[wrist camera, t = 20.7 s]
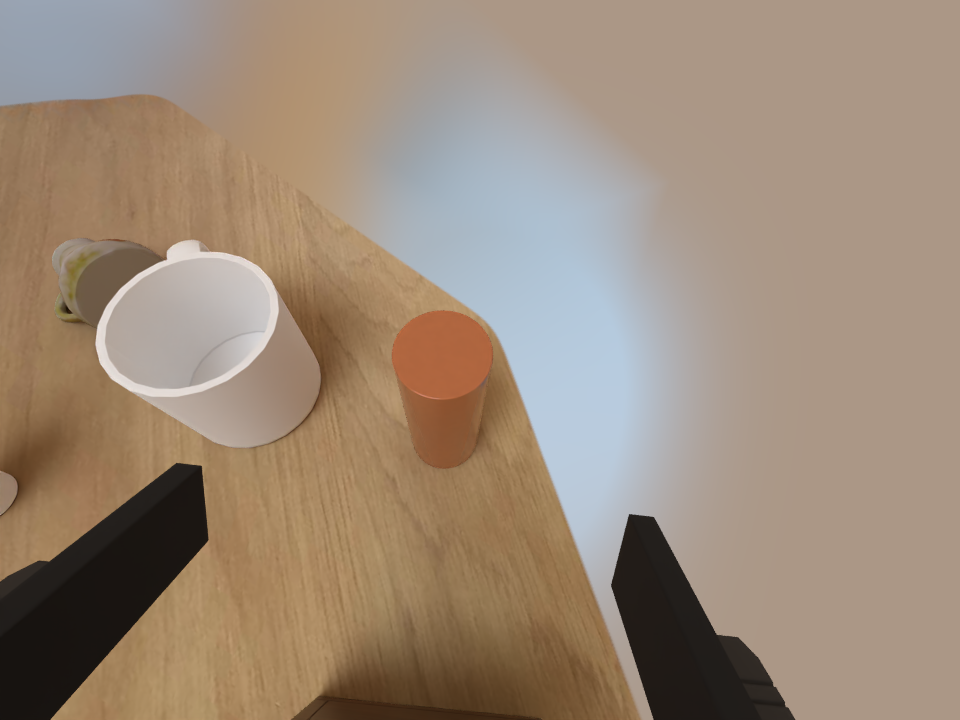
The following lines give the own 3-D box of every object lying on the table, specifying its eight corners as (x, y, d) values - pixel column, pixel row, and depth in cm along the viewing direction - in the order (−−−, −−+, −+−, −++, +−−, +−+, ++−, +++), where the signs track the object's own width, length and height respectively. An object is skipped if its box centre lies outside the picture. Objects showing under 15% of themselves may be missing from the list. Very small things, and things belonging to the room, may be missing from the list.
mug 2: (336, 421, 35) (295, 361, 25) (198, 469, 32) (99, 424, 23) (299, 295, 40) (254, 207, 30) (177, 329, 37) (89, 246, 28)
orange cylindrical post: (488, 424, 35) (510, 336, 23) (457, 480, 33) (462, 417, 21) (433, 395, 36) (425, 295, 24) (399, 448, 34) (371, 369, 21)
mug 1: (117, 243, 41) (105, 177, 33) (191, 326, 42) (197, 282, 35) (20, 279, 37) (-20, 213, 29) (107, 371, 38) (91, 332, 30)
